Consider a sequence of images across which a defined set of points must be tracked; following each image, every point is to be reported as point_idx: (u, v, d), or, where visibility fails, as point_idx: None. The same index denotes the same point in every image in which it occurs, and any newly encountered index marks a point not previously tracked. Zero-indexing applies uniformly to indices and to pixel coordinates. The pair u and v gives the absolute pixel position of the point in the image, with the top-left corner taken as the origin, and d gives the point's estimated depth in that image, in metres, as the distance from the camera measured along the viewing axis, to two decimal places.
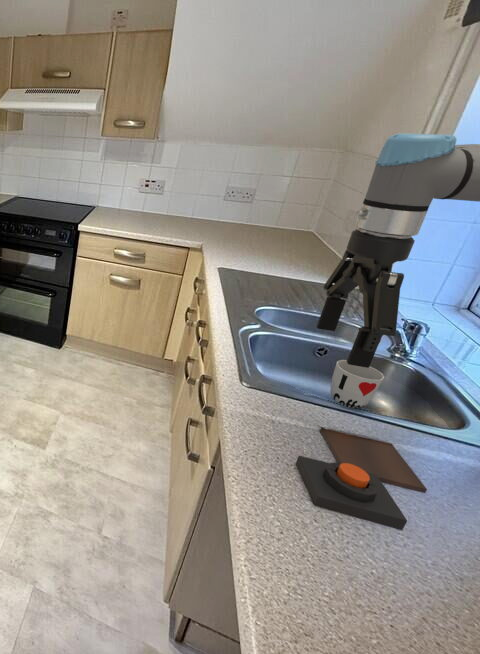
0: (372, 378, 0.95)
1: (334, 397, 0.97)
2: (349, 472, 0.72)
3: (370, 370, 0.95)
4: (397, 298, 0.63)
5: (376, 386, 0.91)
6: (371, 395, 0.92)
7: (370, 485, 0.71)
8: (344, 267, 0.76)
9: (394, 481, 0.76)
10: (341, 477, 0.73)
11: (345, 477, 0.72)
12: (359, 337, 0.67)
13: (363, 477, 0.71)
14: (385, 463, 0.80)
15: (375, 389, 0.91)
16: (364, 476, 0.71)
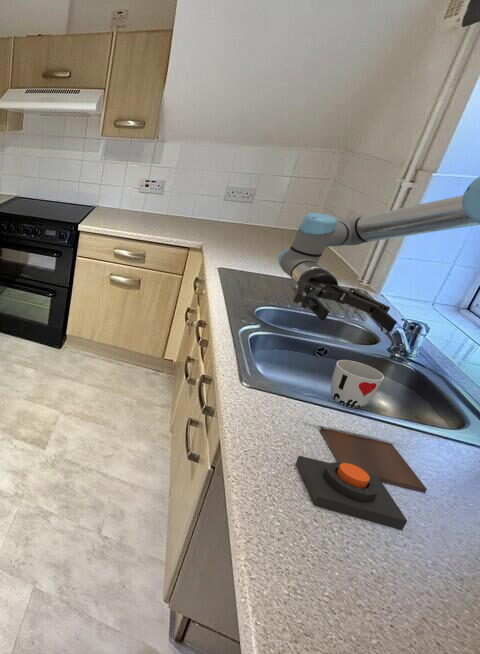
0: (372, 378, 0.95)
1: (334, 397, 0.97)
2: (349, 472, 0.72)
3: (370, 370, 0.95)
4: (298, 286, 1.09)
5: (376, 386, 0.91)
6: (371, 395, 0.92)
7: (370, 485, 0.71)
8: None
9: (394, 481, 0.76)
10: (341, 477, 0.73)
11: (345, 477, 0.72)
12: None
13: (363, 477, 0.71)
14: (385, 463, 0.80)
15: (375, 389, 0.91)
16: (364, 476, 0.71)
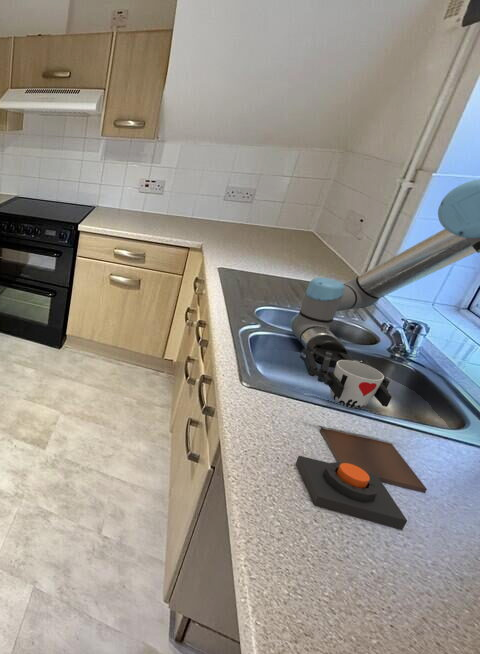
0: (372, 378, 0.95)
1: (334, 397, 0.97)
2: (349, 472, 0.72)
3: (370, 370, 0.95)
4: (307, 356, 1.04)
5: (376, 386, 0.91)
6: (371, 395, 0.92)
7: (370, 485, 0.71)
8: None
9: (394, 481, 0.76)
10: (341, 477, 0.73)
11: (345, 477, 0.72)
12: None
13: (363, 477, 0.71)
14: (385, 463, 0.80)
15: (375, 389, 0.91)
16: (364, 476, 0.71)
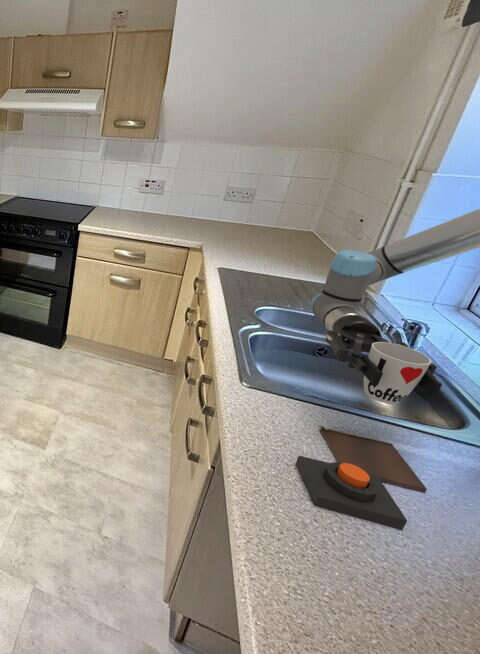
0: (415, 363, 0.79)
1: (368, 386, 0.81)
2: (349, 472, 0.72)
3: (412, 354, 0.80)
4: (334, 339, 0.89)
5: (422, 372, 0.76)
6: (415, 383, 0.77)
7: (370, 485, 0.71)
8: None
9: (394, 481, 0.76)
10: (341, 477, 0.73)
11: (345, 477, 0.72)
12: None
13: (363, 477, 0.71)
14: (385, 463, 0.80)
15: (420, 375, 0.76)
16: (364, 476, 0.71)
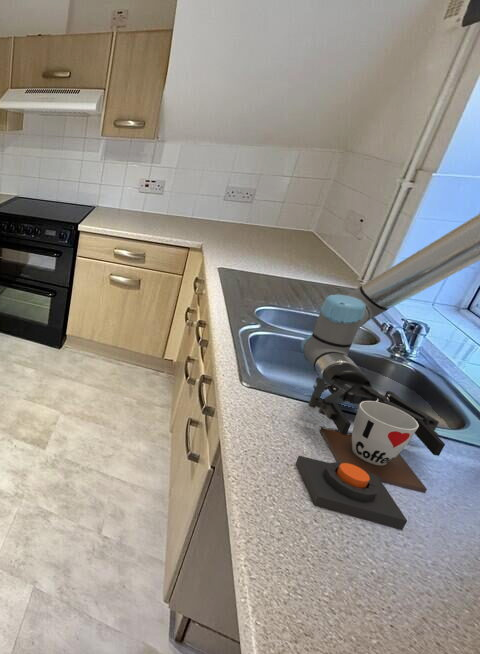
0: (403, 424, 0.79)
1: (356, 446, 0.81)
2: (349, 472, 0.72)
3: (400, 414, 0.80)
4: (316, 385, 0.90)
5: (410, 437, 0.75)
6: (403, 446, 0.76)
7: (370, 485, 0.71)
8: None
9: (394, 481, 0.76)
10: (341, 477, 0.73)
11: (345, 477, 0.72)
12: None
13: (363, 477, 0.71)
14: None
15: (408, 439, 0.76)
16: (364, 476, 0.71)
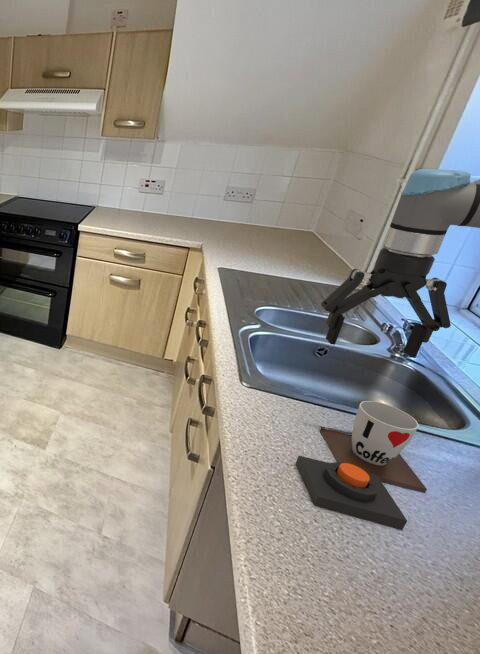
0: (403, 424, 0.79)
1: (356, 446, 0.81)
2: (349, 472, 0.72)
3: (400, 414, 0.80)
4: (346, 287, 0.84)
5: (410, 437, 0.75)
6: (403, 446, 0.76)
7: (370, 485, 0.71)
8: (430, 294, 0.81)
9: (394, 481, 0.76)
10: (341, 477, 0.73)
11: (345, 477, 0.72)
12: None
13: (363, 477, 0.71)
14: None
15: (408, 439, 0.76)
16: (364, 476, 0.71)
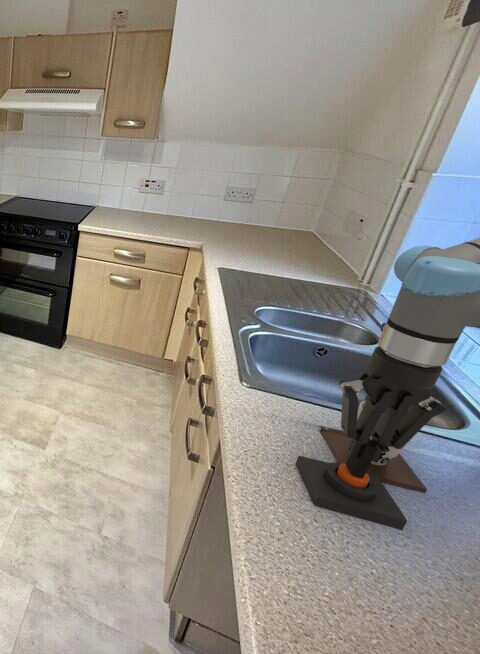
0: None
1: None
2: (349, 472, 0.72)
3: None
4: (348, 407, 0.68)
5: None
6: None
7: (370, 485, 0.71)
8: (413, 410, 0.67)
9: (394, 481, 0.76)
10: (341, 477, 0.73)
11: (345, 477, 0.72)
12: None
13: None
14: None
15: None
16: (364, 476, 0.71)
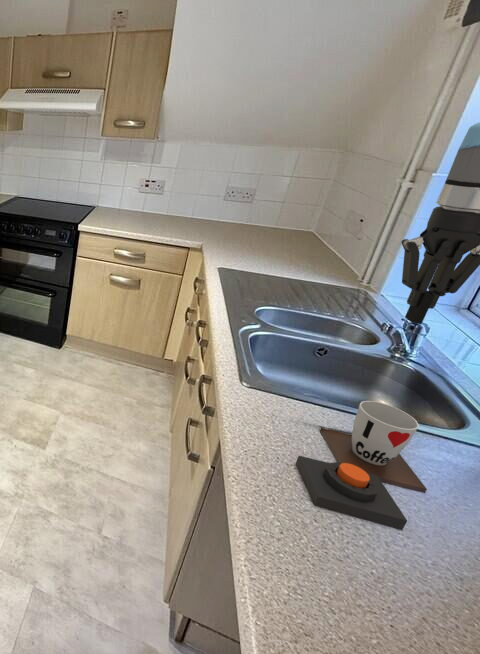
0: (403, 424, 0.79)
1: (356, 446, 0.81)
2: (349, 472, 0.72)
3: (400, 414, 0.80)
4: (410, 261, 0.82)
5: (410, 437, 0.75)
6: (403, 446, 0.76)
7: (370, 485, 0.71)
8: (465, 259, 0.80)
9: (394, 481, 0.76)
10: (341, 477, 0.73)
11: (345, 477, 0.72)
12: None
13: (363, 477, 0.71)
14: None
15: (408, 439, 0.76)
16: (364, 476, 0.71)
